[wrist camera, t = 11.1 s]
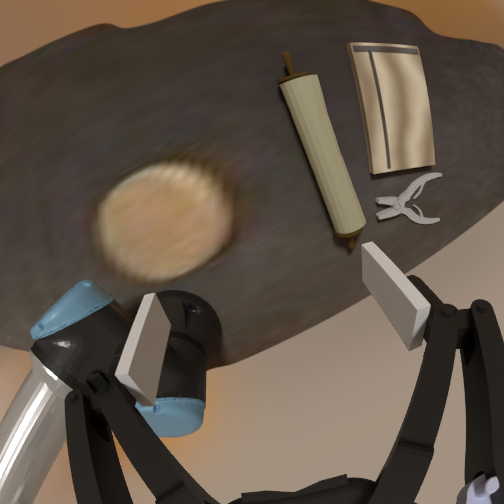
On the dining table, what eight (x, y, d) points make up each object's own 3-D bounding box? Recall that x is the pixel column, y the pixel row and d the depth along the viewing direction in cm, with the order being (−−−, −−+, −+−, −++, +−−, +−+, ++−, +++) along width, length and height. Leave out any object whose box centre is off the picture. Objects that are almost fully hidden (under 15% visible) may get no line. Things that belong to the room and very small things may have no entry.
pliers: (442, 223, 45) (378, 237, 45) (437, 220, 46) (374, 233, 46) (444, 173, 40) (378, 181, 40) (439, 171, 41) (373, 178, 42)
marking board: (369, 172, 41) (373, 174, 39) (345, 44, 31) (349, 42, 30) (429, 162, 40) (435, 164, 39) (412, 47, 31) (417, 46, 29)
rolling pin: (263, 61, 33) (267, 53, 28) (299, 50, 32) (307, 42, 28) (333, 248, 47) (343, 262, 42) (362, 236, 46) (374, 249, 42)
